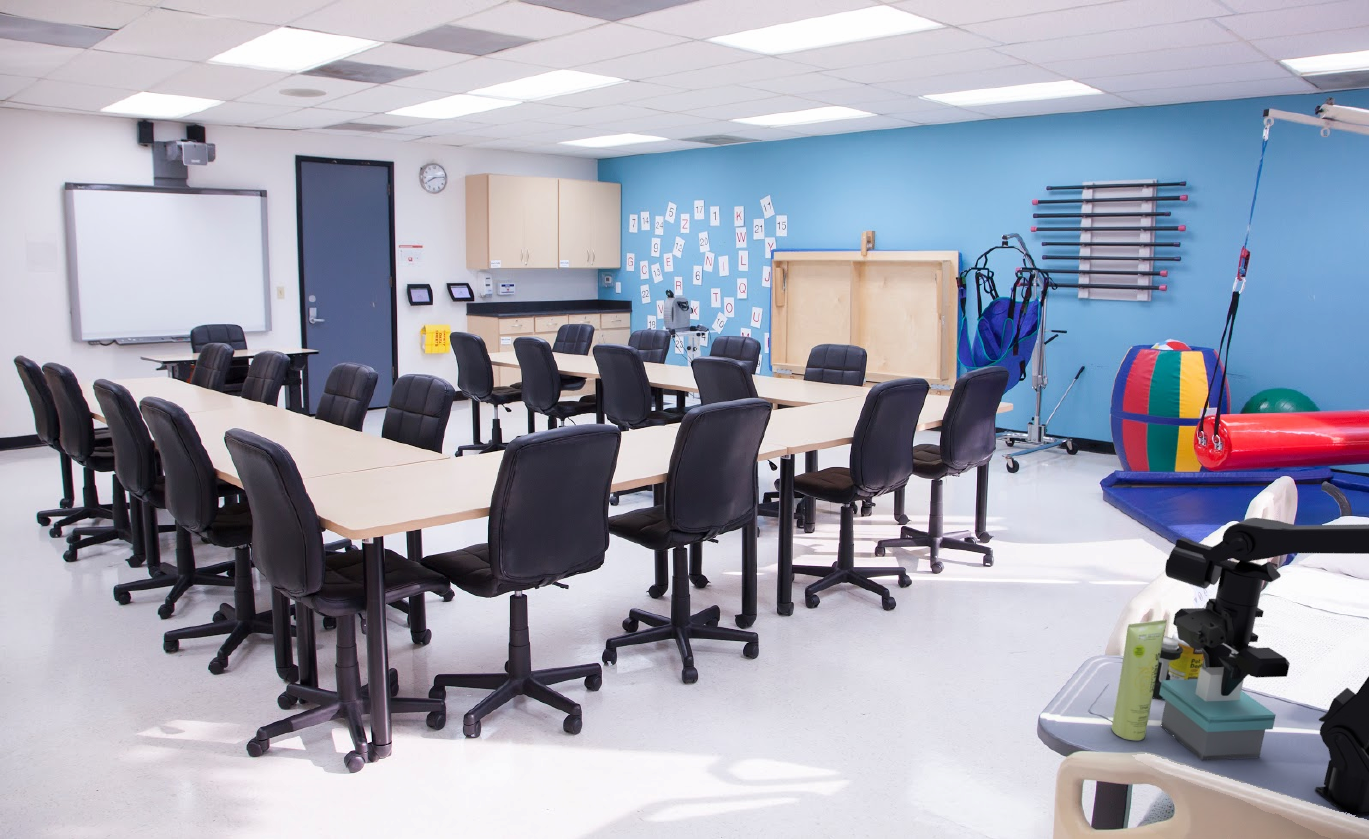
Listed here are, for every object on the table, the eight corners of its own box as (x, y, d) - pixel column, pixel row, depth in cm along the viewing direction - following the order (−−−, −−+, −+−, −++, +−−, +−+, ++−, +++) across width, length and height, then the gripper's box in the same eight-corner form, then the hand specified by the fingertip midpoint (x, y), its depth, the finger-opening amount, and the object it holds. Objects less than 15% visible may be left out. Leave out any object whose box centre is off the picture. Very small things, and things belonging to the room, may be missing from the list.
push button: (1136, 680, 176) (1145, 628, 174) (1168, 685, 175) (1178, 633, 173) (1144, 697, 170) (1153, 644, 168) (1177, 703, 169) (1187, 649, 166)
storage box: (1259, 757, 153) (1265, 728, 152) (1202, 760, 151) (1208, 731, 150) (1214, 723, 162) (1220, 696, 161) (1160, 725, 161) (1165, 698, 160)
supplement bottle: (1188, 689, 174) (1198, 635, 172) (1158, 675, 178) (1168, 623, 176) (1205, 682, 177) (1215, 629, 175) (1175, 669, 182) (1185, 617, 179)
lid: (1272, 729, 151) (1281, 687, 150) (1206, 731, 149) (1215, 689, 148) (1221, 692, 162) (1229, 653, 161) (1159, 694, 160) (1166, 654, 158)
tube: (1142, 746, 154) (1164, 631, 150) (1108, 736, 156) (1128, 623, 152) (1146, 731, 159) (1167, 619, 154) (1112, 721, 161) (1132, 610, 157)
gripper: (1152, 575, 159) (1136, 664, 162) (1234, 625, 141) (1214, 724, 144) (1213, 575, 161) (1196, 662, 164) (1301, 624, 143) (1280, 721, 147)
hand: (1218, 690), depth 155 cm, fingers closed on lid, 2 cm apart
